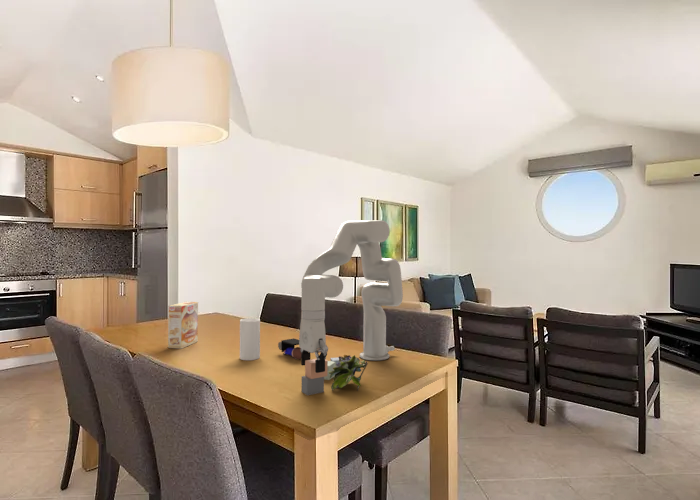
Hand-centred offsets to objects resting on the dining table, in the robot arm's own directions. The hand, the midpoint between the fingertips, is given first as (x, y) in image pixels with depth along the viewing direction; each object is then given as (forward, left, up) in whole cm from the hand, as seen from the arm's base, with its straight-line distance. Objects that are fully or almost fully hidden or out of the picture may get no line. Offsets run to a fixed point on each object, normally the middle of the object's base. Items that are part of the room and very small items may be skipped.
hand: (312, 368), depth 137 cm
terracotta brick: (-1, 0, -3) cm, 3 cm away
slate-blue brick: (-19, -14, -8) cm, 25 cm away
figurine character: (-14, -44, -8) cm, 47 cm away
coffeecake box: (+20, -90, -8) cm, 93 cm away
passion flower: (-13, +2, -8) cm, 15 cm away
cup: (+2, -51, -8) cm, 52 cm away
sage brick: (-12, -11, -8) cm, 18 cm away
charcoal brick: (0, 0, -8) cm, 8 cm away
